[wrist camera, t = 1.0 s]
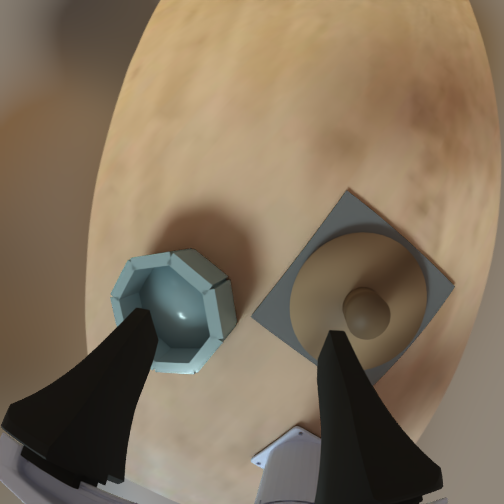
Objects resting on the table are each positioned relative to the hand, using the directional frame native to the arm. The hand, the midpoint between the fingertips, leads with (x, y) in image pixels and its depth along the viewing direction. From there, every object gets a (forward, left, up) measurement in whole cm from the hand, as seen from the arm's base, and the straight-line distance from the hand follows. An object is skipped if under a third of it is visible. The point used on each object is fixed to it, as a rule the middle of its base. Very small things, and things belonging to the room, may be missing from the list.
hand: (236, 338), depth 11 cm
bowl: (+5, +7, -12) cm, 15 cm away
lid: (-7, -3, -12) cm, 14 cm away
